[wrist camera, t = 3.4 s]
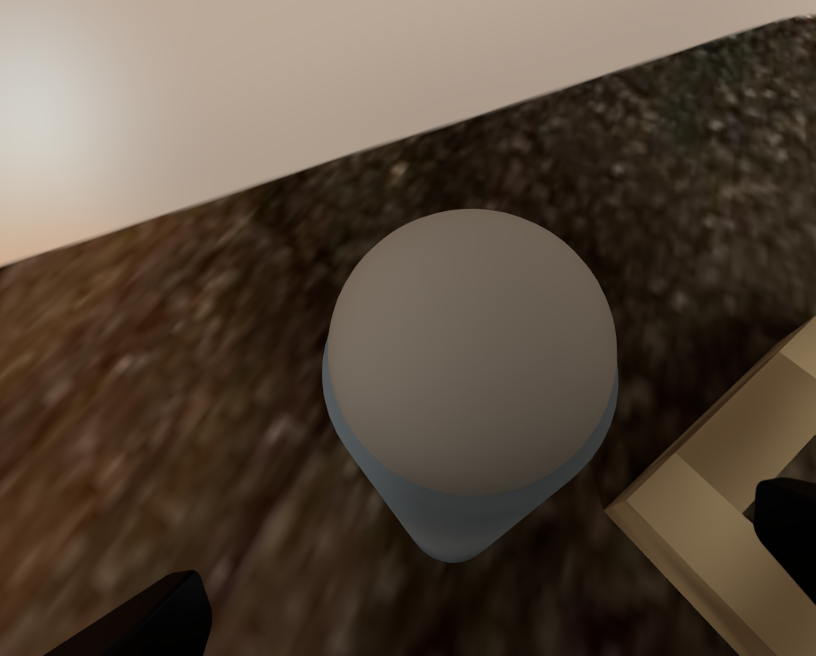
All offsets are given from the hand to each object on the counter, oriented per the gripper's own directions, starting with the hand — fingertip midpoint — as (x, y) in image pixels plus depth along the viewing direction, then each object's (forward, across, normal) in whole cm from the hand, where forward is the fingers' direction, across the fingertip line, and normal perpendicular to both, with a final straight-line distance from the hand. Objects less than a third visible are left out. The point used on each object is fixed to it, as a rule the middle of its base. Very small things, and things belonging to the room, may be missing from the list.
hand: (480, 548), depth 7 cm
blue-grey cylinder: (+9, 0, -6) cm, 11 cm away
